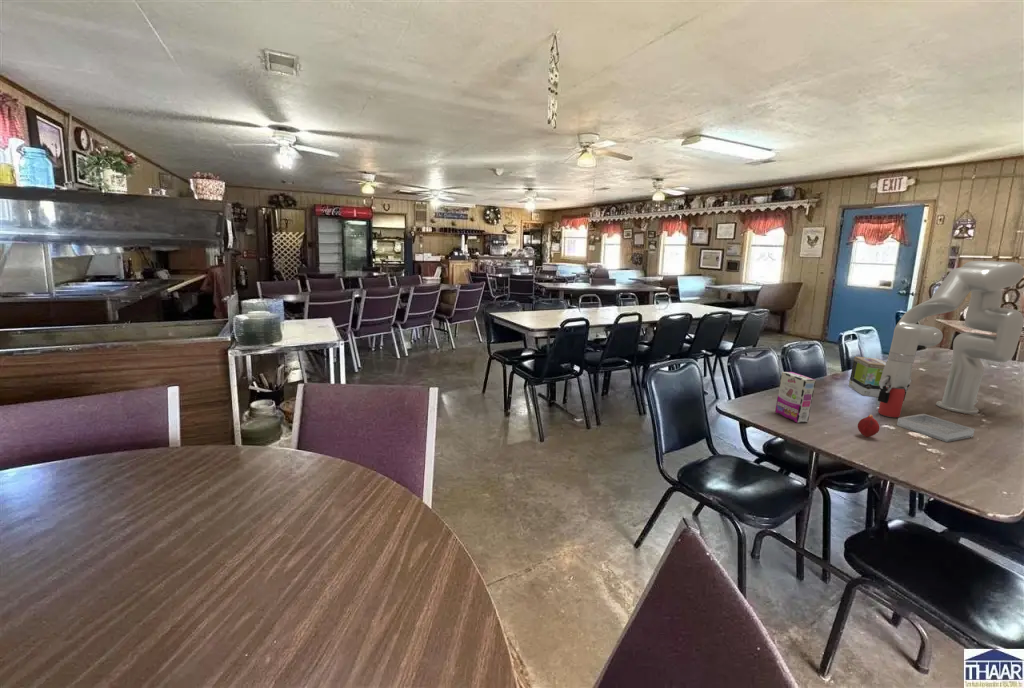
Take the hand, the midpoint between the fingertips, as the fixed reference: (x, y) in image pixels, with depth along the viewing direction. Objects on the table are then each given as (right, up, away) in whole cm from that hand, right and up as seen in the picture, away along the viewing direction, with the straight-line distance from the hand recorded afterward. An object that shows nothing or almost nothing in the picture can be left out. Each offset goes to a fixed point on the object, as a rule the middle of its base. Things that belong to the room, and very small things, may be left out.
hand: (890, 401), depth 176 cm
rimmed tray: (+4, -9, -13) cm, 17 cm away
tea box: (+15, 0, +31) cm, 34 cm away
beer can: (0, -6, +1) cm, 6 cm away
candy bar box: (-41, -6, -5) cm, 42 cm away
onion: (-26, -10, -21) cm, 34 cm away
